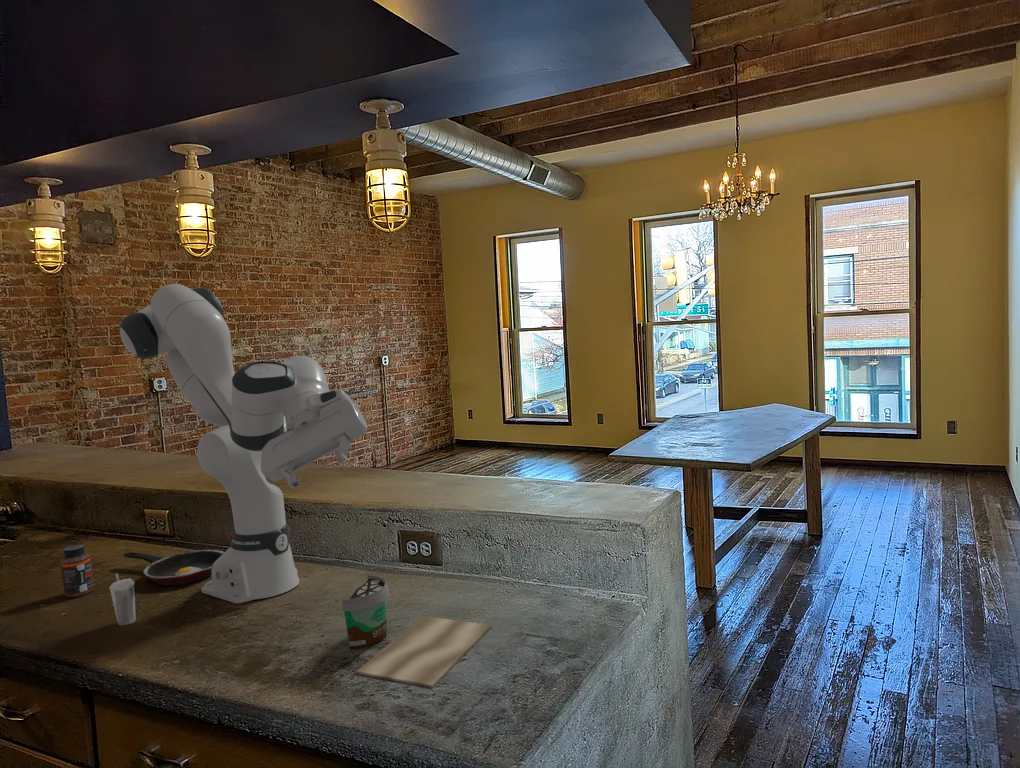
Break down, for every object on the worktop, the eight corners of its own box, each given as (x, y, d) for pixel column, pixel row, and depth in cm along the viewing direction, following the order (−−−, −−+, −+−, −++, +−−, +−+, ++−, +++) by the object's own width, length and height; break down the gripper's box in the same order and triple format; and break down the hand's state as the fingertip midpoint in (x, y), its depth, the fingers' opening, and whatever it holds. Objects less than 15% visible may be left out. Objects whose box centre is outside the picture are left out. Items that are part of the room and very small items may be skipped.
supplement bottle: (93, 594, 161) (86, 548, 160) (63, 600, 159) (56, 553, 158) (95, 586, 167) (89, 541, 166) (67, 592, 164) (60, 546, 163)
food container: (378, 654, 122) (373, 601, 121) (346, 653, 124) (341, 600, 123) (402, 623, 134) (398, 574, 133) (373, 622, 136) (368, 574, 135)
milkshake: (134, 614, 148) (128, 569, 147) (142, 621, 144) (136, 575, 143) (110, 622, 145) (104, 576, 144) (118, 629, 141) (111, 582, 140)
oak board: (356, 673, 116) (356, 671, 116) (423, 617, 136) (423, 615, 136) (432, 687, 110) (432, 685, 110) (491, 627, 130) (491, 625, 130)
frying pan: (181, 593, 158) (179, 578, 158) (92, 579, 172) (90, 565, 172) (244, 564, 175) (242, 550, 175) (158, 554, 189) (157, 540, 189)
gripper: (251, 435, 127) (254, 490, 117) (348, 384, 127) (359, 435, 117) (272, 454, 132) (276, 509, 122) (365, 404, 131) (377, 455, 121)
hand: (317, 472), depth 119 cm, fingers open, 8 cm apart
